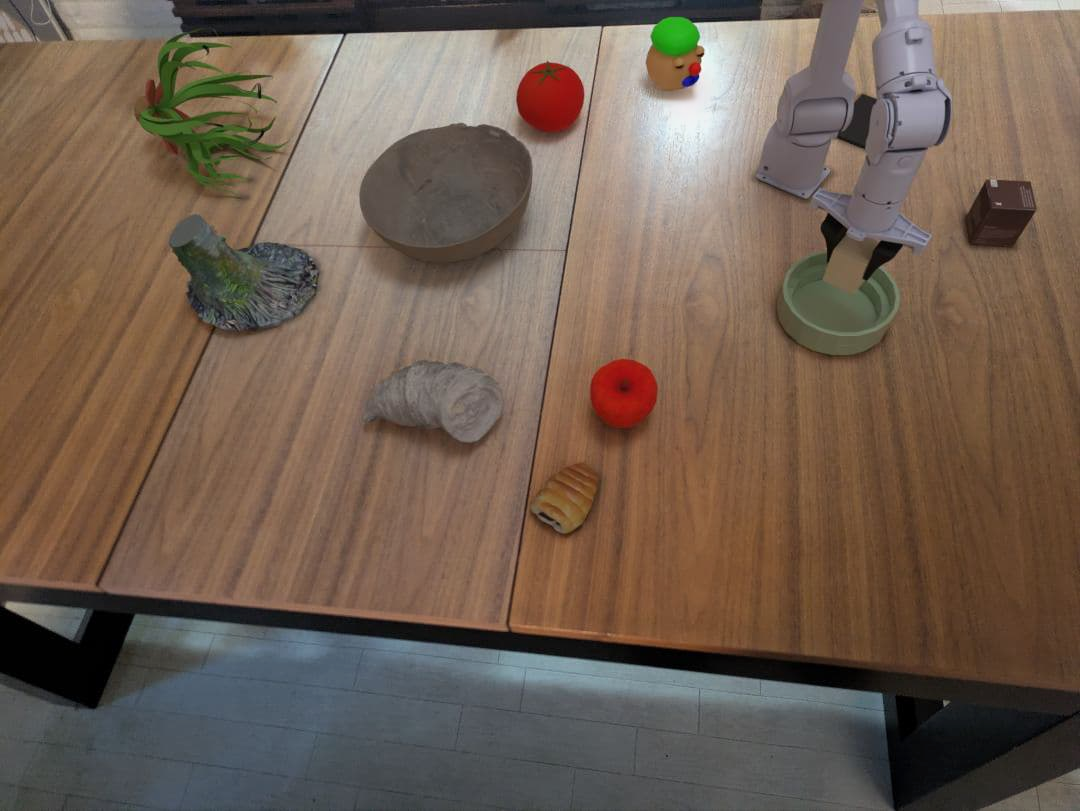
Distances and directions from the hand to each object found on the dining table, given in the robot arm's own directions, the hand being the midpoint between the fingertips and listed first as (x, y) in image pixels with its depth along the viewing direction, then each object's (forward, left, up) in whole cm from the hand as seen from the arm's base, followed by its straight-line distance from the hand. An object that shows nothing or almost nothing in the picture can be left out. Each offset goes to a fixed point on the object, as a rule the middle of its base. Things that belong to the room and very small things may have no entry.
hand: (849, 266), depth 94 cm
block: (0, 0, -2) cm, 2 cm away
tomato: (-61, +10, -9) cm, 62 cm away
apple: (-14, -32, -9) cm, 36 cm away
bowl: (-58, -19, -9) cm, 61 cm away
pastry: (-12, -47, -9) cm, 49 cm away
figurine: (-48, +30, -9) cm, 57 cm away
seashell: (-34, -48, -9) cm, 59 cm away
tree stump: (-75, -49, -9) cm, 90 cm away
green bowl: (0, -1, -9) cm, 9 cm away
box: (+11, +26, -9) cm, 30 cm away
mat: (-12, +39, -9) cm, 42 cm away
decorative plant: (-108, -31, -9) cm, 112 cm away
